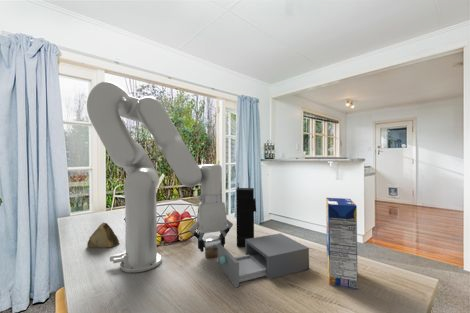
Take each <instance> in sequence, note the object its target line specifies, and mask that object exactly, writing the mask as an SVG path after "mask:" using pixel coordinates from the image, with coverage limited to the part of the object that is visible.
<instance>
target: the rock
mask: <svg viewBox="0 0 470 313" xmlns="http://www.w3.org/2000/svg"><path fill="white" fill-rule="evenodd" d="M118 238H119V237H118V236H117V234H115V232H114V231H113V229H112V227H111V226H110V225H109V224H108V223H107V222H101V224H99V226H98V227H97V228H96V229H95V231H93V233H92V234H91V235H90V236H89V239H88V241H87V243H86V244H87V245H86V246H87V248H101V247H102V248H112V247H116V246H119V245H120V244H121V243H120V240H119V239H118Z"/></svg>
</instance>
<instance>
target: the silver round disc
mask: <svg viewBox="0 0 470 313" xmlns="http://www.w3.org/2000/svg"><path fill="white" fill-rule="evenodd" d="M202 239H203V241H204V249H205V248H209V249H211V248H218V244H221V237H219V236H218V235H206V236H203V238H202Z"/></svg>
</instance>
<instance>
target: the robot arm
mask: <svg viewBox="0 0 470 313" xmlns="http://www.w3.org/2000/svg"><path fill="white" fill-rule="evenodd" d="M86 111H87V115H88V117H89V118H88V119H89V120H90V122H91V124H92V127H93V128H94V131H95V132H96V134H97V135H98V137H99V139H100V141H101V143H102V145H103V146H104V148H105V149H106V152H107V154H108V155H109V157H110V159H111V161H112V162H113V164H114V165H116V166H117V167H119V168H123V170H124V171H125V173H126V177H125V178H124V182H123V194H124V207H125V209H124V210H125V216H124V217H125V249H124V252H122V251H121V253H118V254H117V253H116V254H110V255H109V262H112V263H113V264H118V263H119V268H120V270H121V271H123V272H125V273H132V274H134V273H141V272H146V271H149V270H152V269H154V268H156V267H157V266H159V265H160V264H161V263H162V257H163V256H162V255H161V253H158V252H157V247H158V246H157V242H158V239H157V237H158V236H157V234H158V232H157V226H158V225H157V224H158V222H157V217H158V216H157V213H158V212H157V206H158V205H157V187H158V185H159V183H160V177H159V174H158V172H157V170H156V168H155V166H154V164H153V162H152V160H151V159H150V157H149V155H148V154H147V152H146V150H145V149H144V147H143V146H142V145H141V144H140V143H139V142H136V141H135V139H134V138H133V136H132V135H131V133H130V132H129V129H128V127H127V126H126V124H125V123H124V121H123V119H122V118H124V119H128V120H130V121H134V122H138V123H141V124H143V126H144V127H145V129H146V131H147V132H148V133H149V135H150V136H151V138H152V140H153V142H154V144H155V145H156V147H157V148H158V150H159V152H161V154H162V156H163V157H164V159H165V160H166V161H167V163H168V165H169V167H170V168H171V170H172V171H173V173H174V174H175V176H176V178H177V179H178V181H179V183H180V184H181V185H183V186H184V187H187V188H193V187H196V186H197V185H199V184H200V195H197V196H196V200H197V201H199V203H198V208H197V214H196V215H197V216H196V221H195V222H194V223H193V224H192V225H191V226H190V227H189V228H188V230H189V232H190V233H191V234H192V235H193V236H194V237H195V238H196V239H197V248H198V249H199V250H200V252H201V253H202V252H205V248H204V241H203V239H202V238H203V237H205V234H209V233H218V232H219V233H220V234H219V237H221V245H222V246H223V247H224V248H225V245H226V236H227V234H228V233H230V230H231V228H233V226H234V224H233V223H232V222H231V221H229V220H228V219H227V211H226V204H225V202H224V201H223V170H222V169H223V168H222V166H221V165H220V164H218V163H214V164H213V163H208V164H198V162H196V160H195V158H194V156H193V155H192V153H191V152H190V150H189V148H188V147H187V145H186V143H185V142H184V139H183V138H182V137H183V136H181V134H180V133H179V131H178V129H177V127H176V126H175V124H174V123H173V121H172V120H171V118H170V116H169V115H168V113H167V111H166V110H165V108H164V106H163V105H162V103H161V101H160V100H158V99H157V98H156V97H154V96H144V97H142V98H138V97H135V96H132V95H130V94H128V93H127V92H126V90H125V89H124V88H123V87H121V86H120V85H119V84H117V83H116V82H112V81H108V80H107V81H106V80H105V81H101V82H99V83H97V84H96V85H95V86H94V87H93V88H92V89H91V90H90V92H89V94H88V97H87V100H86ZM196 229H197V230H198V232H197V231H195V230H196Z"/></svg>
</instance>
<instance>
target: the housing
mask: <svg viewBox="0 0 470 313" xmlns="http://www.w3.org/2000/svg"><path fill="white" fill-rule="evenodd" d="M244 248H245V255H249V254H251V255H256V254H260V255H261V256H262V257H264V258H265V259H266V260H267V275H266V279H268V280H272V279H276V278H279V277H283V276H287V275H290V274H294V273H298V272H299V273H300V272H302V271H306V270H309V269H310V247H308V246H306V245H304V244H302V243H300V242H298V241H296V240H294V239H292V238H291V237H288V236H286V235H284V234H282V233H281V232H280V233H279V232H278V233H274V234H268V235H263V236H256V237H254V238H250V239H245V247H244Z"/></svg>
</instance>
